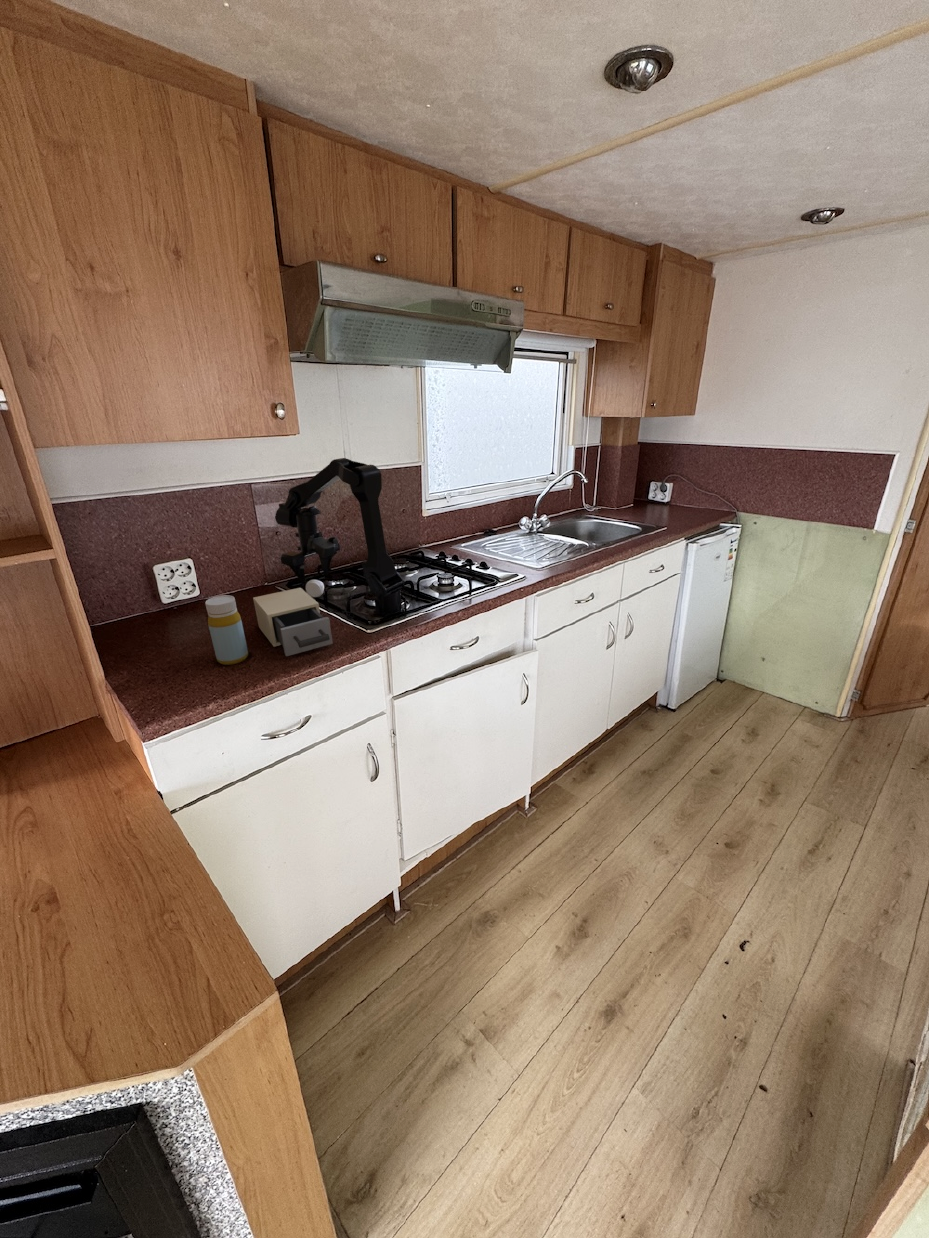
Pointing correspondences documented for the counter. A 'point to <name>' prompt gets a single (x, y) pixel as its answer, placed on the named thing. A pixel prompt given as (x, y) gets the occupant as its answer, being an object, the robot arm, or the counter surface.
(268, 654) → the counter surface
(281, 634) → the grey drawer with handle
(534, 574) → the counter surface
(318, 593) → the garlic bulb
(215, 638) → the bottle
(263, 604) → the small drawer cabinet
